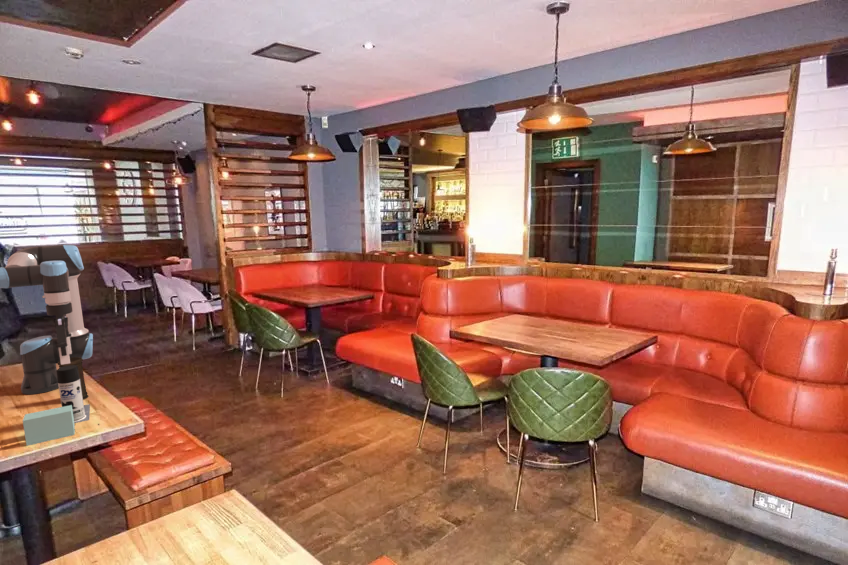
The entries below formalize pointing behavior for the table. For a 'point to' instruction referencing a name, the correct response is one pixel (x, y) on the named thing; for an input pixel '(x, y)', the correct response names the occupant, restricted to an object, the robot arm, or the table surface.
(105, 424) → the table surface
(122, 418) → the table surface
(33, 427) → the pale green block
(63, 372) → the spray can
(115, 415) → the table surface
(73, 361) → the container
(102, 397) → the table surface
